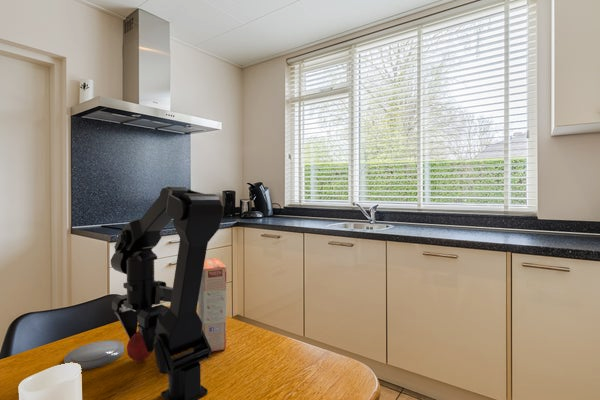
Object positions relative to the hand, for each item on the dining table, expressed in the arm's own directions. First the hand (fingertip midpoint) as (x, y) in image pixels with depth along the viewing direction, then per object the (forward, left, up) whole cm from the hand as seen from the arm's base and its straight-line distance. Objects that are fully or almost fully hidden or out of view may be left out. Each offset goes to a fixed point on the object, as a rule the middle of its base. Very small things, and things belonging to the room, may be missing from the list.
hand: (141, 345), depth 74 cm
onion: (0, 0, -4) cm, 4 cm away
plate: (+11, +6, -4) cm, 13 cm away
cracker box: (-3, -17, -4) cm, 18 cm away
